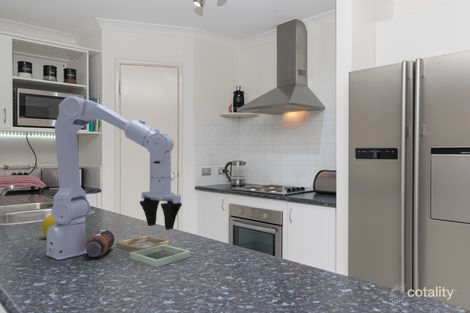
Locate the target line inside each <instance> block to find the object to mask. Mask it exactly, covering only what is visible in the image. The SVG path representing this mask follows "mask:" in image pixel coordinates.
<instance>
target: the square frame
mask: <svg viewBox="0 0 470 313" xmlns="http://www.w3.org/2000/svg"><path fill="white" fill-rule="evenodd" d="M162 251H163V252H168V253H172V255H169V256H165V257H162V258H158V259H157V258H153V257H150V256H147V255H151V254H154V253H155V254H156V253H158V252H162ZM190 257H191V251H190V250H188V249H182V248H179V247H177V246H172V245H171V246H168V245H164V244H163V245H159V246H155V247H151V248H147V249H143V250H139V251H135V252H131V251H130V252H129V259H131V260H134V261H137V262H140V263H143V264H146V265H149V266H152V267H155V268H159V267H161V266H165V265H168V264H171V263H175V262H177V261H181V260H184V259H187V258H190Z"/></svg>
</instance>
